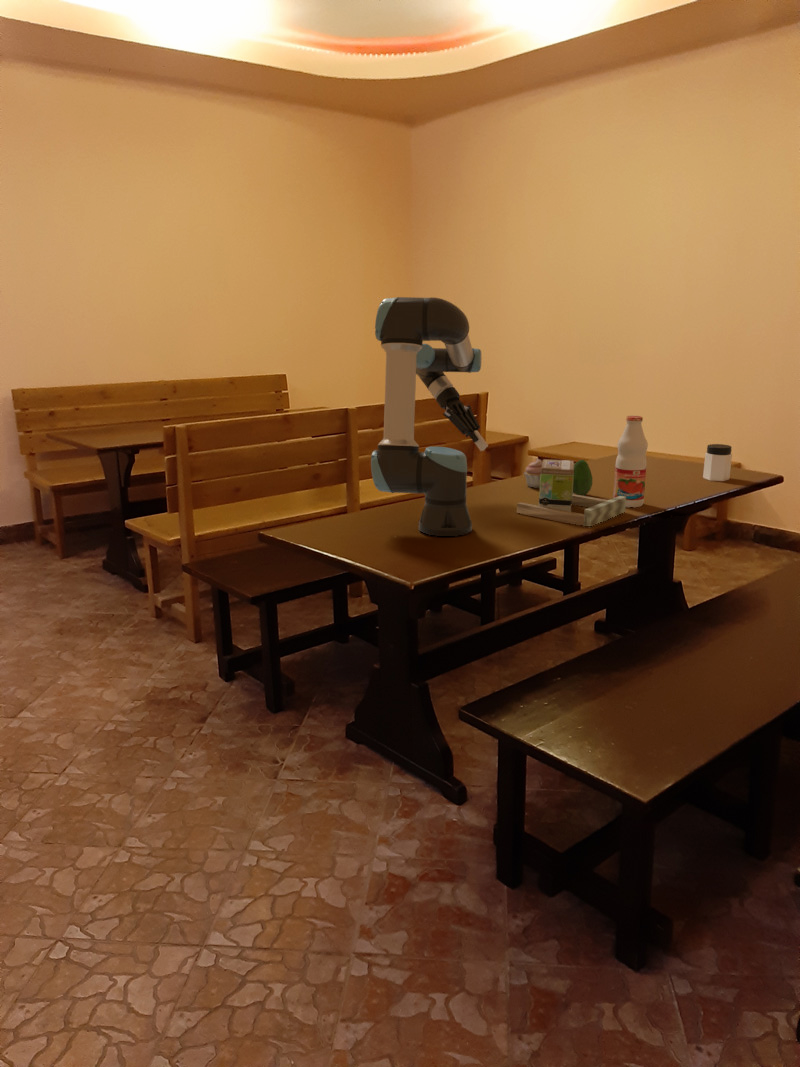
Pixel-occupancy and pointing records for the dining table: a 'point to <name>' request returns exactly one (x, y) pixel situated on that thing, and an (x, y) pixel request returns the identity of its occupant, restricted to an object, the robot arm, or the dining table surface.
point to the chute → (592, 515)
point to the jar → (717, 462)
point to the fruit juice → (631, 463)
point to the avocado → (582, 478)
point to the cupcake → (533, 473)
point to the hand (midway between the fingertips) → (484, 448)
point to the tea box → (556, 484)
